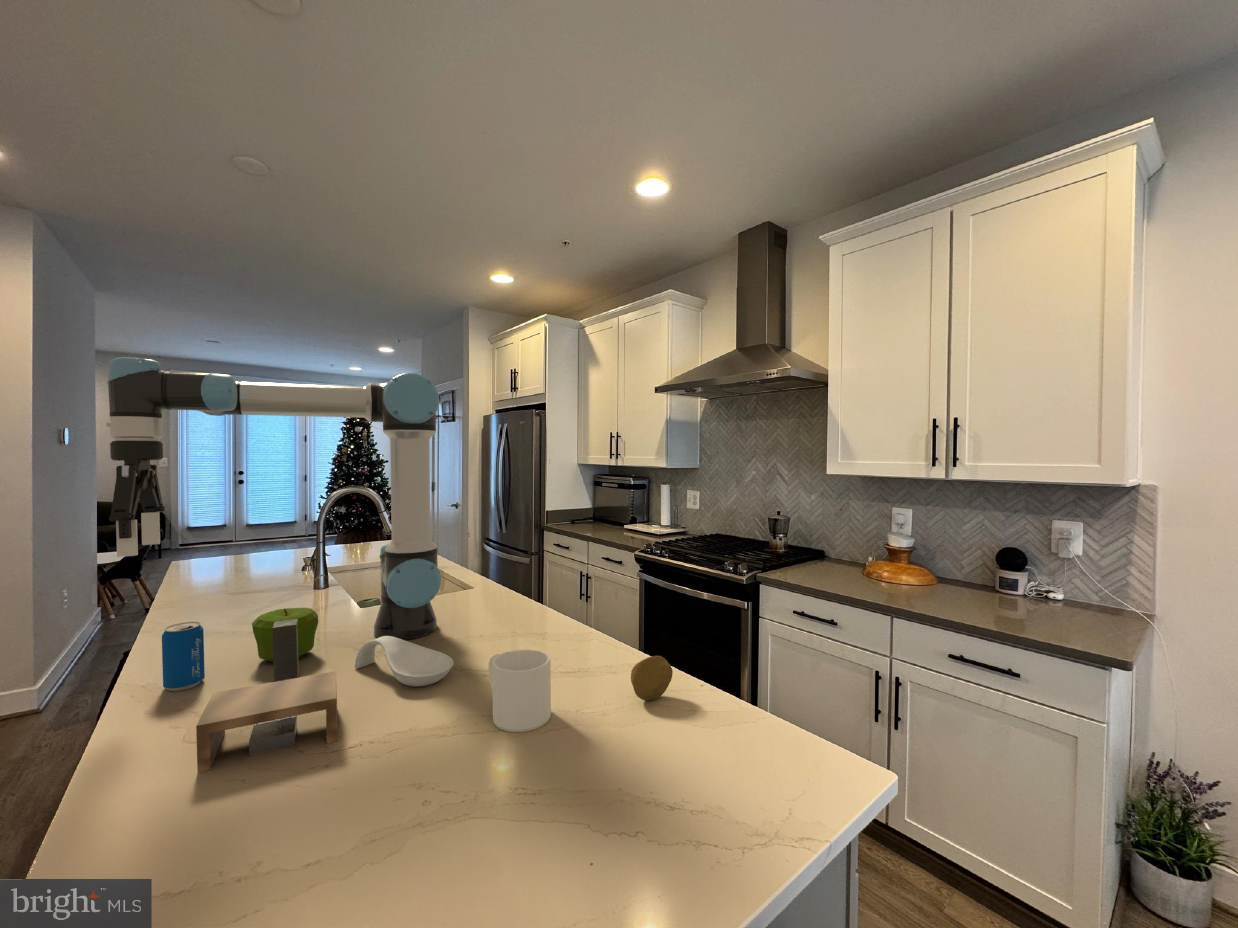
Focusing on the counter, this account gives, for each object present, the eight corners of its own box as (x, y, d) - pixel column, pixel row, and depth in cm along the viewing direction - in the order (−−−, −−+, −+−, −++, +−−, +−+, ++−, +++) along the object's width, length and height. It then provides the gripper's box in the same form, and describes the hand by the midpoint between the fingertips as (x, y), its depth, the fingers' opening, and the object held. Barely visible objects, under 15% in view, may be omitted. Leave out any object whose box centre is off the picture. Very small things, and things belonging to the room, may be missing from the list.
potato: (626, 705, 97) (626, 662, 97) (639, 687, 105) (639, 647, 104) (663, 711, 95) (663, 667, 95) (673, 693, 102) (673, 651, 102)
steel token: (297, 729, 90) (296, 715, 90) (294, 747, 85) (294, 731, 85) (254, 738, 87) (254, 723, 87) (249, 757, 82) (248, 741, 82)
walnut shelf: (337, 708, 96) (336, 670, 96) (337, 740, 86) (336, 697, 86) (214, 734, 88) (212, 692, 88) (197, 773, 77) (196, 725, 77)
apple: (257, 673, 112) (256, 620, 112) (249, 656, 121) (248, 607, 121) (323, 658, 120) (322, 608, 120) (311, 643, 130) (310, 597, 129)
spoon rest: (465, 675, 111) (464, 641, 111) (422, 699, 101) (421, 661, 100) (384, 656, 121) (384, 625, 121) (337, 676, 111) (337, 642, 111)
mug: (562, 713, 95) (562, 656, 94) (523, 739, 86) (522, 676, 86) (511, 695, 101) (510, 642, 101) (470, 718, 93) (469, 660, 93)
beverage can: (181, 693, 103) (179, 632, 103) (154, 690, 104) (152, 630, 104) (212, 679, 109) (211, 621, 109) (187, 677, 110) (185, 619, 110)
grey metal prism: (301, 675, 111) (300, 618, 111) (295, 717, 93) (293, 650, 93) (273, 680, 109) (271, 622, 108) (261, 724, 91) (259, 655, 91)
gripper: (133, 440, 111) (136, 541, 112) (82, 438, 89) (86, 563, 90) (179, 441, 115) (181, 538, 116) (140, 438, 93) (144, 559, 93)
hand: (140, 549), depth 103 cm, fingers open, 13 cm apart
